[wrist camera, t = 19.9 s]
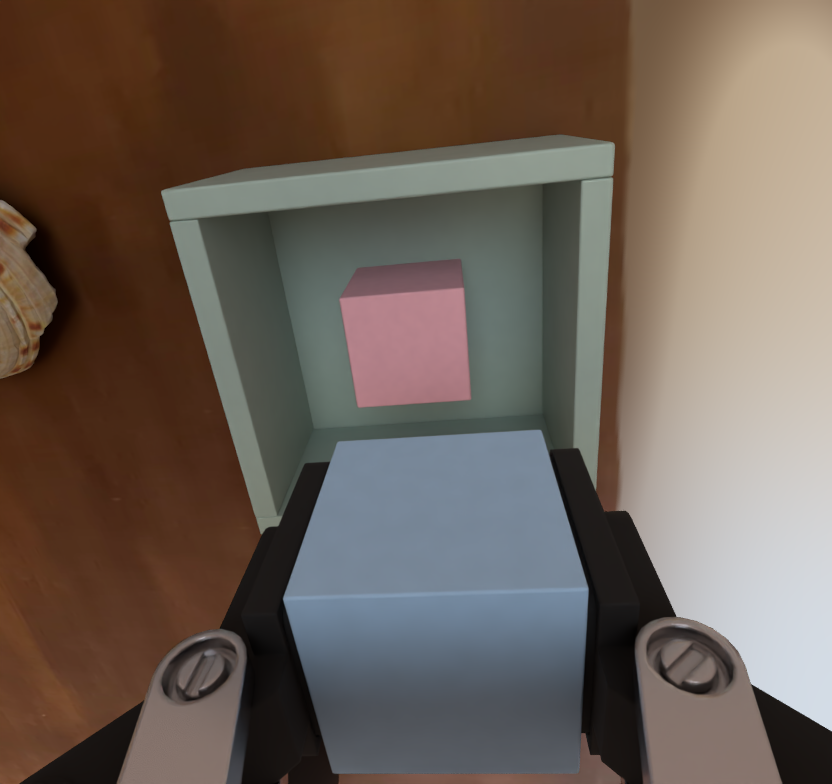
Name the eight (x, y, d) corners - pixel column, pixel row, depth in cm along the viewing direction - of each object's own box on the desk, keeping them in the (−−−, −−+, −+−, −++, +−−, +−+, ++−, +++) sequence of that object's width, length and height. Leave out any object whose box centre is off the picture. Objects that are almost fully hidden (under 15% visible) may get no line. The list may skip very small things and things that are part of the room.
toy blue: (336, 440, 11) (281, 598, 7) (541, 428, 10) (590, 589, 7) (365, 589, 13) (331, 774, 9) (541, 583, 12) (579, 775, 9)
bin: (242, 168, 20) (159, 190, 14) (562, 134, 19) (616, 141, 13) (303, 437, 25) (260, 535, 19) (558, 421, 24) (595, 519, 18)
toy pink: (356, 267, 21) (338, 298, 17) (460, 257, 21) (464, 287, 17) (370, 362, 23) (357, 408, 19) (467, 355, 22) (471, 401, 19)
